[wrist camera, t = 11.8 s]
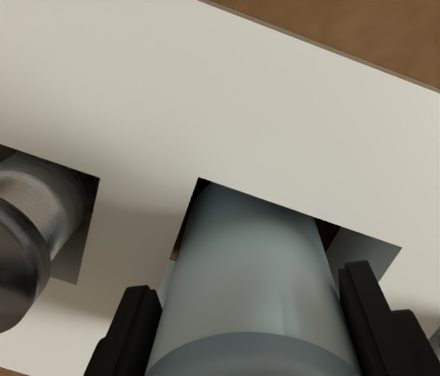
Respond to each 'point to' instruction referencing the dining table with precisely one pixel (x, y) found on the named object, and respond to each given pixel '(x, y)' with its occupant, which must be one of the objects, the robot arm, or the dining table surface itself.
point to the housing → (208, 151)
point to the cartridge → (251, 295)
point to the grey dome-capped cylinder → (36, 226)
